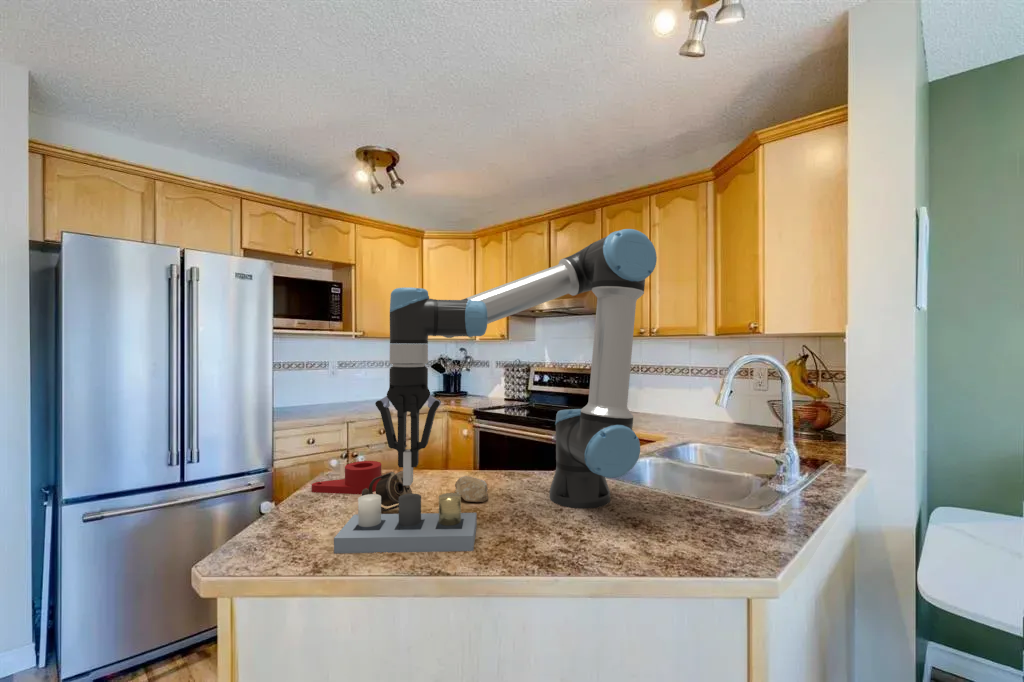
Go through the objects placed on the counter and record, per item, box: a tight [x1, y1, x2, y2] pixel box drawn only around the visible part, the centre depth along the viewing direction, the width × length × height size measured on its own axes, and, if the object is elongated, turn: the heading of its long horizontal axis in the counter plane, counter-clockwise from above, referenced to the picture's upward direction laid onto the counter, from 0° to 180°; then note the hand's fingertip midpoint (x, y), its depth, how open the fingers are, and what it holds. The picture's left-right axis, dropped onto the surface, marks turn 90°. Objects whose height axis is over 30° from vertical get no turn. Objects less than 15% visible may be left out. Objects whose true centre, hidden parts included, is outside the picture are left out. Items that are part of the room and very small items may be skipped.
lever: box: [311, 460, 382, 495], centre depth 126 cm, size 18×9×7 cm, turn 97°
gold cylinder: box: [438, 492, 462, 526], centre depth 94 cm, size 4×4×5 cm
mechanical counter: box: [361, 470, 414, 512], centre depth 108 cm, size 7×13×10 cm, turn 78°
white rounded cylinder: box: [357, 493, 382, 527], centre depth 94 cm, size 4×4×5 cm
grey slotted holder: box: [333, 512, 478, 554], centre depth 94 cm, size 26×12×3 cm, turn 91°
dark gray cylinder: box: [398, 493, 422, 526], centre depth 94 cm, size 4×4×5 cm
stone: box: [454, 475, 489, 503], centre depth 119 cm, size 8×10×4 cm
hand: (408, 483), depth 94 cm, fingers closed
